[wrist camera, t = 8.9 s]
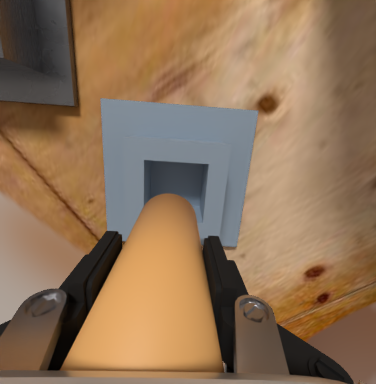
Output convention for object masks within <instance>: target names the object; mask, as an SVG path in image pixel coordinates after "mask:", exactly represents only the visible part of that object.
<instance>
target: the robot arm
mask: <svg viewBox="0 0 376 384" xmlns="http://www.w3.org/2000/svg"><path fill="white" fill-rule="evenodd" d="M121 250H122V234H119V232H118V231H106V232H105V234H104V235H103V236H102V238H101V239H100V240H99V242H98V243H97V244H96V246H95V247H94V248H93V249H92V251H91V252H90V253H89V255H88V254H87V255H85V256H84V257H83V258H82V259H81V261H80V262H79V263H78V265H77V266H76V267H75V268H74V270H73V271H72V272H71V273H70V275H69V276H68V277H67V278H66V280H65V281H64V282H63V283H62V285H61V286H60V287H59V289H47V290H43V291H41V292H38V293H36V294H34V295H32V296H30V297H29V298H28V299H26V300H25V301H24V302H23V303H22V305H21V306H20V307H19V308H18V310H17V312H16V313H15V315H14V317H13V318H12V320H9V321H7V322H5V323H3V324H1V325H0V384H357V383H355V382H353V380H352V379H351V378H350V376H349V375H348V373H347V372H346V371H345V370H344V369H343V368H342V367H341V366H340V365H339V364H337V363H336V362H335V361H334V360H332V359H331V358H329V357H328V356H326V355H325V354H323V353H321V352H320V351H319V350H317V349H316V348H314V347H312V346H311V345H309V344H308V343H306V342H305V341H303V340H302V339H300V338H299V337H297V336H295V335H294V334H292V333H291V332H289V331H288V330H286V329H285V328H283V327H282V326H280V325H279V324H277V323H276V320H275V316H274V313H273V310H272V308H271V307H270V306H269V304H268V303H266V302H265V301H264V300H262V299H260V298H259V297H256V296H253V295H249V294H248V292H247V290H246V287H245V285H244V282H243V280H242V278H241V275H240V273H239V271H238V268H237V266H236V263H235V262H234V261H233V260H227V258H226V255H225V252H224V250H223V247H222V244H221V241H220V239H219V236H209V235H208V238H204V245H203V258H204V263H205V269H206V274H207V280H208V285H209V290H210V296H211V301H212V307H213V312H214V318H215V323H216V329H217V334H218V340H219V345H220V351H221V356H222V361H224V363H225V373H211V372H150V371H60V369H61V367H62V365H63V363H64V361H65V359H66V357H67V355H68V353H69V351H70V349H71V347H72V345H73V343H74V341H75V339H76V337H77V336H78V334H79V332H80V330H81V328H82V326H83V324H84V322H85V320H86V318H87V316H88V314H89V312H90V310H91V308H92V306H93V304H94V302H95V300H96V299H97V297H98V295H99V293H100V291H101V289H102V287H103V285H104V283H105V281H106V279H107V277H108V275H109V273H110V271H111V269H112V267H113V265H114V263H115V261H116V260H117V258H118V256H119V254H120V252H121ZM358 384H365V383H363V382H361V381H359V383H358Z"/></svg>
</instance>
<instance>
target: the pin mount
mask: <svg viewBox="0 0 376 384" xmlns="http://www.w3.org/2000/svg"><path fill="white" fill-rule="evenodd" d="M0 101H8V102H22V103H35V104H48V105H61V106H74V107H78V95H77V82H76V70H75V58H74V45H73V33H72V21H71V8H70V0H0Z"/></svg>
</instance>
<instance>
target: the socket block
mask: <svg viewBox="0 0 376 384" xmlns="http://www.w3.org/2000/svg"><path fill="white" fill-rule="evenodd" d="M101 116H102V136H103V155H104V175H105V194H106V214H107V231H118V232H119V234H122V241H126V240H127V238H128V236H129V234H130V232H131V230H132V228H133V226H134V224H135V222H136V221H137V219H138V217H139V215H140V213H141V211H142V209H143V207H144V205H145V204H146V203H147V202H148V201H149V200H150V199H151V198H153V197H155V196H157V195H160V194H165V193H170V194H176V195H179V196H181V197H183V198H185V199H186V200H187V201H188V202H189V203H190V204H191V205H192V207H193V208H194V211H195V214H196V219H197V225H198V230H199V236H200V241H201V245H204V238H208V235H209V236H219V239H220V241H221V244H222V246H231V247H237V241H238V235H239V229H240V222H241V216H242V210H243V204H244V197H245V191H246V185H247V179H248V172H249V166H250V160H251V154H252V147H253V141H254V135H255V129H256V122H257V116H258V111H255V110H242V109H229V108H217V107H204V106H191V105H178V104H166V103H153V102H140V101H128V100H115V99H102V98H101Z"/></svg>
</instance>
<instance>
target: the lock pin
mask: <svg viewBox="0 0 376 384" xmlns="http://www.w3.org/2000/svg"><path fill="white" fill-rule="evenodd" d="M60 371H150V372H211V373H224V368H223V362H222V356H221V351H220V345H219V340H218V334H217V329H216V323H215V318H214V312H213V307H212V301H211V296H210V290H209V285H208V280H207V274H206V269H205V263H204V258H203V252H202V247H201V241H200V236H199V230H198V225H197V219H196V214H195V211H194V208H193V207H192V205H191V204H190V203H189V202H188V201H187V200H186V199H185V198H183V197H181V196H179V195H176V194H170V193H165V194H160V195H157V196H155V197H153V198H151V199H150V200H149V201H148V202H147V203H146V204H145V205H144V207H143V209H142V211H141V213H140V215H139V217H138V219H137V221H136V222H135V224H134V226H133V228H132V230H131V232H130V234H129V236H128V238H127V240H126V242H125V244H124V246H123V248H122V250H121V252H120V254H119V256H118V258H117V260H116V261H115V263H114V265H113V267H112V269H111V271H110V273H109V275H108V277H107V279H106V281H105V283H104V285H103V287H102V289H101V291H100V293H99V295H98V297H97V299H96V300H95V302H94V304H93V306H92V308H91V310H90V312H89V314H88V316H87V318H86V320H85V322H84V324H83V326H82V328H81V330H80V332H79V334H78V336H77V337H76V339H75V341H74V343H73V345H72V347H71V349H70V351H69V353H68V355H67V357H66V359H65V361H64V363H63V365H62V367H61V369H60Z"/></svg>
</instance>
